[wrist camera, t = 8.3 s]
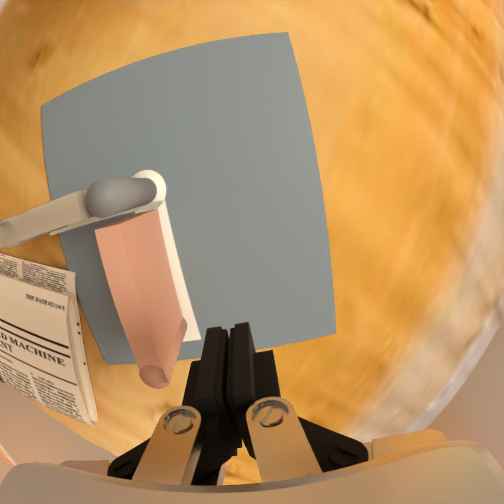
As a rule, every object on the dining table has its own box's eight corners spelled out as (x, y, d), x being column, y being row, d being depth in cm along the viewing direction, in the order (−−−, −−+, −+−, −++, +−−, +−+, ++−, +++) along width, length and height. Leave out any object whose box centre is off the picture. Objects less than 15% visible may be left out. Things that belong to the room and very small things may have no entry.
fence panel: (130, 180, 19) (82, 184, 12) (154, 175, 19) (114, 175, 12) (167, 335, 23) (145, 388, 16) (190, 333, 23) (173, 388, 16)
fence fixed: (52, 208, 20) (-5, 223, 13) (126, 183, 20) (75, 188, 12) (57, 229, 20) (2, 251, 13) (132, 207, 20) (83, 224, 13)
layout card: (35, 110, 18) (33, 110, 17) (287, 33, 17) (288, 31, 17) (100, 363, 24) (99, 365, 24) (335, 331, 24) (336, 333, 24)
